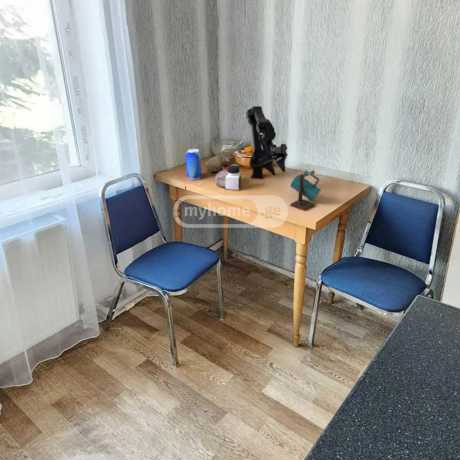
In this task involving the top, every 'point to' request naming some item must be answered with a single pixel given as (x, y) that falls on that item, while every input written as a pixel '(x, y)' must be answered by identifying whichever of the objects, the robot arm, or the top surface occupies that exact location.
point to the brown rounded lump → (216, 163)
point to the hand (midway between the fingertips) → (279, 173)
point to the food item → (222, 177)
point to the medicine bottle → (233, 178)
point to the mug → (307, 186)
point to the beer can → (193, 164)
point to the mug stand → (300, 202)
